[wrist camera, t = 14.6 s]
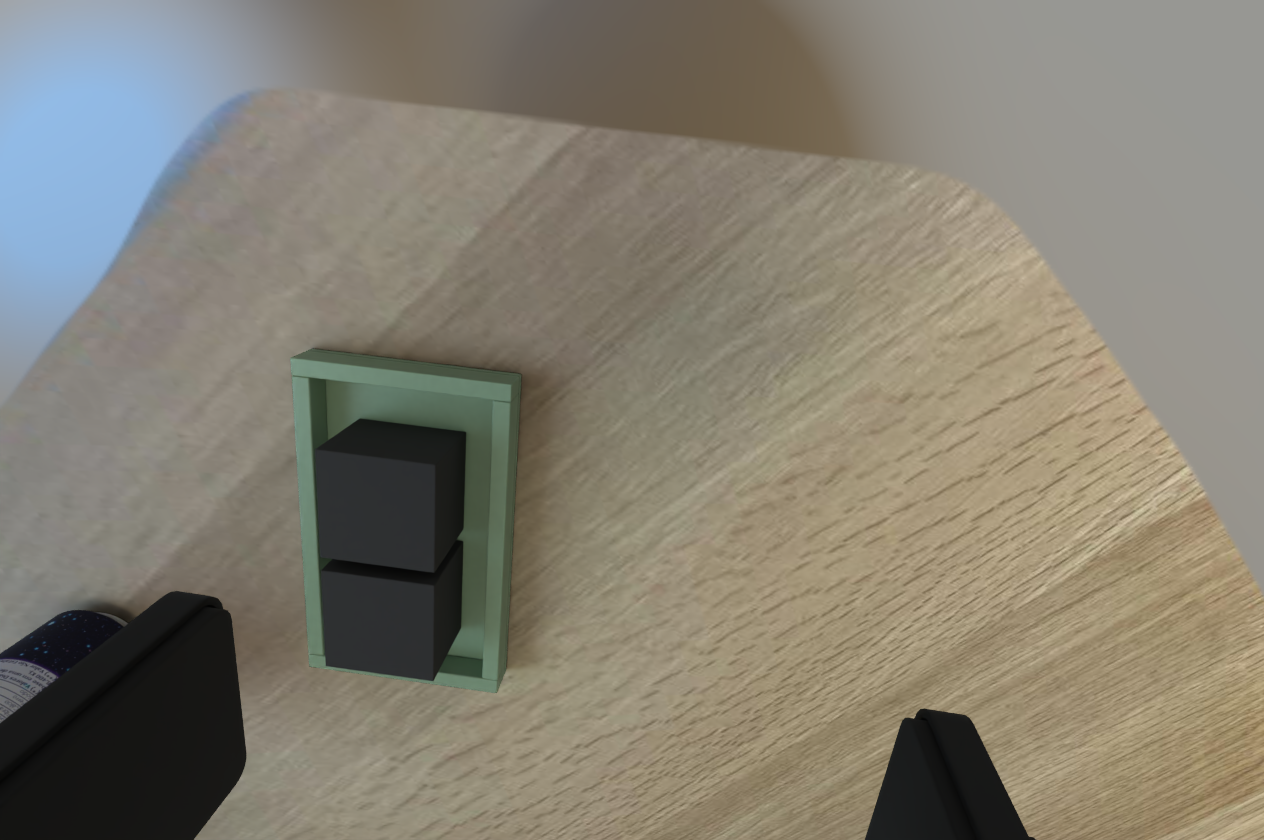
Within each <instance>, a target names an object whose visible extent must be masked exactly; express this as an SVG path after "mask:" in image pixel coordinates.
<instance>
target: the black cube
mask: <svg viewBox="0 0 1264 840" xmlns="http://www.w3.org/2000/svg"><path fill="white" fill-rule="evenodd" d="M315 459H316V480H317V500H318V521H319V542H320V557H322V558H329V559H337V560H344V561H351V562H359V563H366V564H373V565H381V566H388V567H395V568H403V569H410V570H417V571H425V572H432V573H434V572H435V571H436V570H437V568H438V567H439V565H440V564H441V562H442V561H443V559H444V558H445V556H446V555H447V553H448V552H449V550H450V549H451V547H452V546H453V544H454V543H455V541H456V540H457V538H458V537H459V535H460V534H461V532H462V530H463V529H464V495H465V460H466V432H463V431H455V430H447V429H439V428H431V427H423V426H416V425H408V424H400V423H392V422H384V421H376V420H369V419H361V418H360V419H358V420H357V421H355V422H354V423H352V424H351V425H349V426H348V427H346V428H345V429H344V430H342V431H341V432H339V433H338V434H336V435H335V436H334V437H332V438H331V439H329V440H328V441H326V442H325V443H323V444H322V445H321V446H319V447H318V448H316V449H315Z"/></svg>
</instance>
